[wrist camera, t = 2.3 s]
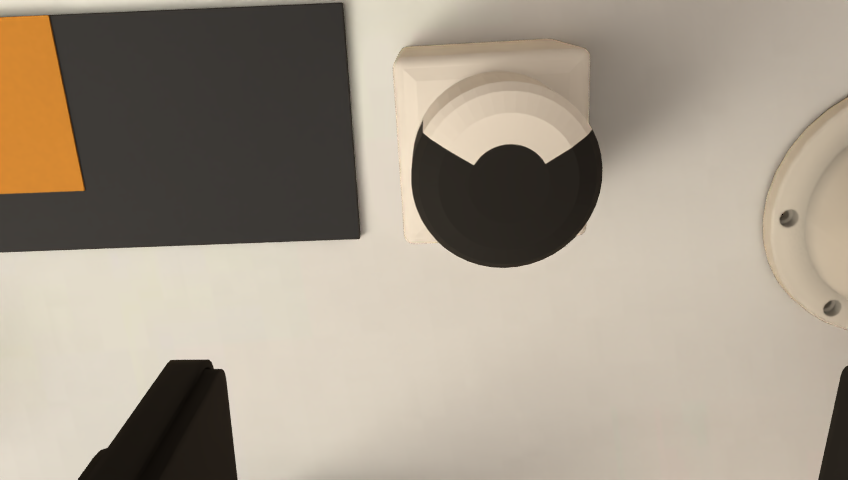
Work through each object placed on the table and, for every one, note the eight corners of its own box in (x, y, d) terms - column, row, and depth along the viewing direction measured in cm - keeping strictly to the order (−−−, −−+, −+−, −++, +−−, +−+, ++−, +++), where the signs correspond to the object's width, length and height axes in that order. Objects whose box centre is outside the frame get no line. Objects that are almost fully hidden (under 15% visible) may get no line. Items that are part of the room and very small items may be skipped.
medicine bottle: (555, 190, 33) (622, 286, 22) (408, 198, 34) (400, 297, 22) (556, 37, 31) (631, 57, 20) (398, 46, 31) (383, 71, 20)
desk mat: (343, 2, 31) (341, 2, 30) (360, 236, 34) (359, 239, 34) (-123, 22, 31) (-131, 22, 31) (-57, 252, 35) (-64, 255, 34)
